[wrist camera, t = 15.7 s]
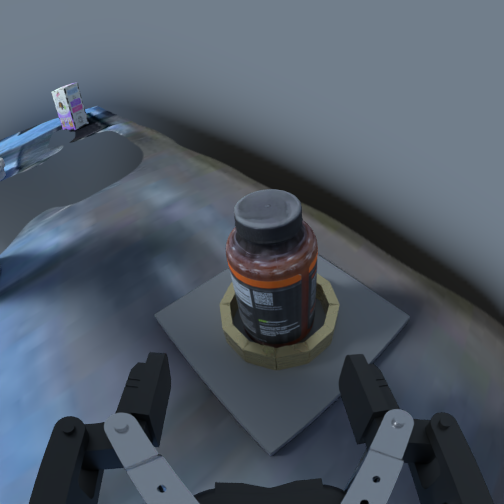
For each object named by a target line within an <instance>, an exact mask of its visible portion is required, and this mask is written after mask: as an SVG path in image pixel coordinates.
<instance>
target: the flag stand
mask: <svg viewBox="0 0 504 504" xmlns="http://www.w3.org/2000/svg"><path fill="white" fill-rule="evenodd" d="M4 167H5V163H4V160H3V158H0V181H1V180H2V179H3V178H4V177H5V176H6V173H5V171H4Z"/></svg>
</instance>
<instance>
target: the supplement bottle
mask: <svg viewBox="0 0 504 504" xmlns="http://www.w3.org/2000/svg"><path fill="white" fill-rule="evenodd" d="M234 218H235V226H236V227H235V228H234V229H233V230H232V232H231V233H230V235H229V237H228V240H227V243H226V256H227V261H228V265H229V270H230V274H231V278H232V282H233V286H234V291H235V295H236V299H237V304H238V308H239V312H240V316H241V321H242V324H243V327H244V329H245V331H246V333H247V335H248V336H249V337H250V338H251V339H252V340H253V341H255V342H256V343H258V344H262V345H266V346H270V347H274V348H279V347H284V346H288V345H293V344H296V343H298V342H299V341H301V340H302V339H303V338H305V337H306V336H307V334H308V333H309V332H310V330H311V328H312V326H313V323H314V316H315V304H316V282H317V255H318V253H317V252H318V247H317V239H316V236H315V234H314V232H313V230H312V229H311V227H310V226H309V225H308V224H307V223H306V222H305V221H303V219H302V207H301V203H300V201H299V200H298V199H297V198H296V197H295V196H294V195H292V194H290V193H288V192H285V191H282V190H272V189H268V190H260V191H256V192H253V193H250V194H248V195H246V196H245V197H243V198H242V199H240V200H239V201H238V203H237V204H236V205H235V208H234Z"/></svg>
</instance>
